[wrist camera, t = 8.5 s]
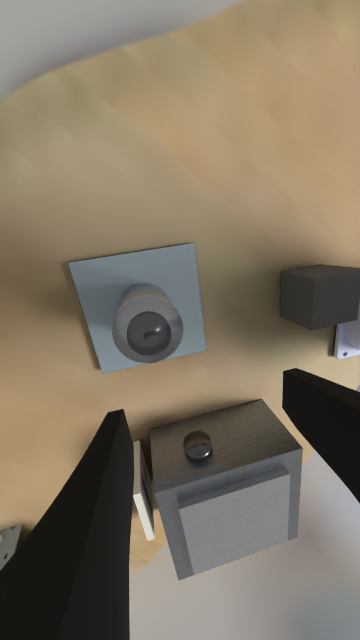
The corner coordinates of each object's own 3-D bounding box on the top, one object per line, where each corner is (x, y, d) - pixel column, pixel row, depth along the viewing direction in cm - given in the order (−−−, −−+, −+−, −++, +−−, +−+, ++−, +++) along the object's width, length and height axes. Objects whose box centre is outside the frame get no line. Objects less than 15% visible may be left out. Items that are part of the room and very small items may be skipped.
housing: (261, 393, 23) (308, 448, 17) (263, 477, 27) (301, 545, 21) (148, 423, 21) (153, 495, 15) (169, 507, 25) (179, 590, 19)
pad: (192, 243, 17) (194, 243, 16) (204, 347, 20) (206, 350, 19) (70, 262, 16) (68, 262, 15) (103, 369, 19) (102, 373, 18)
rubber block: (320, 264, 19) (364, 268, 16) (317, 307, 21) (357, 319, 17) (279, 272, 19) (314, 278, 15) (279, 315, 20) (311, 330, 17)
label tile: (139, 440, 22) (140, 492, 17) (151, 481, 24) (155, 538, 19) (133, 441, 21) (132, 495, 17) (145, 482, 24) (147, 541, 19)
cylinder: (167, 280, 17) (182, 294, 11) (172, 328, 18) (188, 361, 13) (114, 286, 16) (103, 304, 11) (123, 336, 17) (118, 374, 12)
